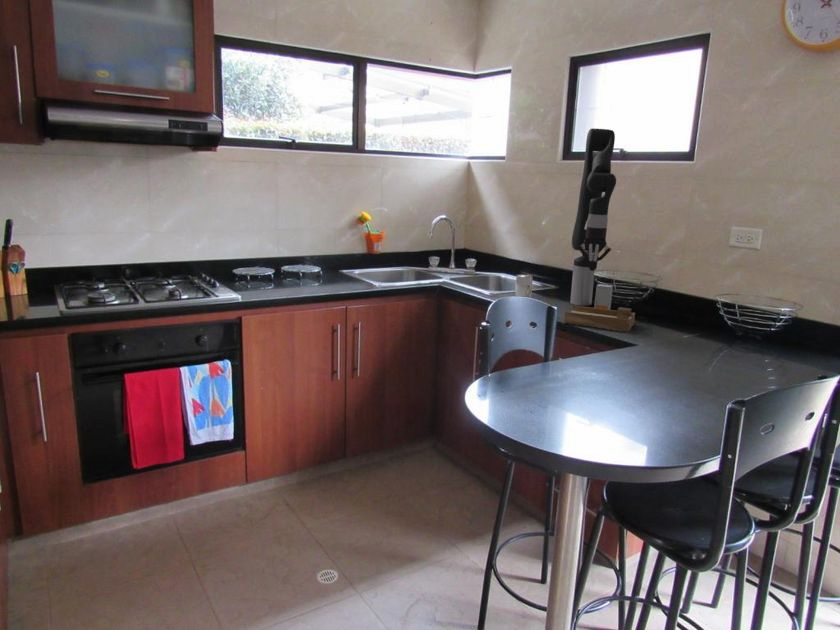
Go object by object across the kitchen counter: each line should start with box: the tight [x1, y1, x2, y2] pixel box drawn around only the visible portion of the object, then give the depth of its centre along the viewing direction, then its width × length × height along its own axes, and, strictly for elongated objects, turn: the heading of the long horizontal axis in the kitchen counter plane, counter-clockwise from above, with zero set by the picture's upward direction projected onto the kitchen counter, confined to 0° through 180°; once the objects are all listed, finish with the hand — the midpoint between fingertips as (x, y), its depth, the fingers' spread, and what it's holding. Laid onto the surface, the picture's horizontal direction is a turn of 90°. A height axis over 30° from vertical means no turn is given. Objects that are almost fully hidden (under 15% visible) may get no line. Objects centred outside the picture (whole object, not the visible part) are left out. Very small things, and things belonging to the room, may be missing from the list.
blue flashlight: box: [514, 274, 533, 298], centre depth 255 cm, size 7×7×15 cm
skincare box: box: [593, 283, 614, 310], centre depth 256 cm, size 6×4×12 cm
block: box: [616, 306, 632, 319], centre depth 236 cm, size 4×4×4 cm
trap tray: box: [563, 304, 636, 333], centre depth 238 cm, size 14×24×4 cm, turn 64°
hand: (592, 270), depth 240 cm, fingers closed
